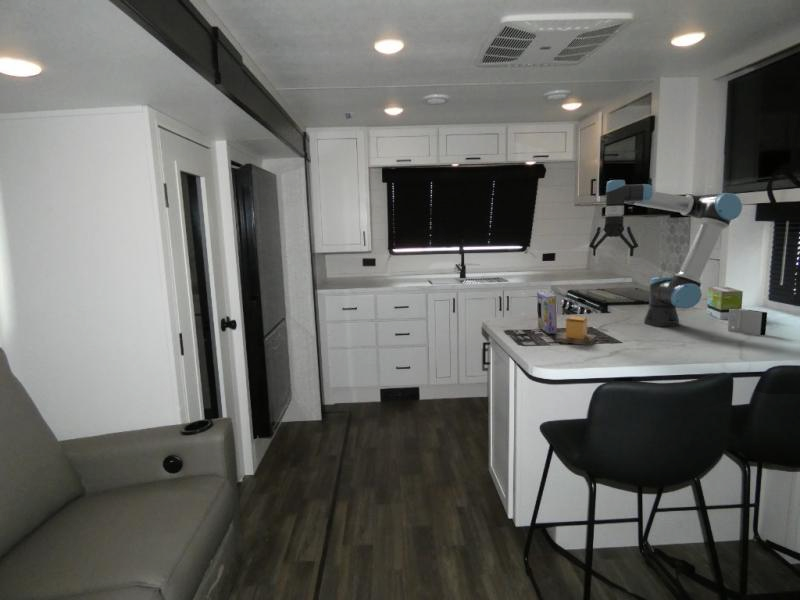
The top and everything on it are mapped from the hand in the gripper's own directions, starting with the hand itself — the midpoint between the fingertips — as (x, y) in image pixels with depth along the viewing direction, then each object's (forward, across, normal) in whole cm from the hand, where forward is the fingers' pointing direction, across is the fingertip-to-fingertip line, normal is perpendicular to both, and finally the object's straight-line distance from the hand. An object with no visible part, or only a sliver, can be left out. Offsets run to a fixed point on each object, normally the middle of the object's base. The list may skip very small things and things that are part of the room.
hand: (612, 263), depth 222 cm
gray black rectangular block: (+32, +52, +25) cm, 66 cm away
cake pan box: (+32, -27, -8) cm, 43 cm away
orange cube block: (+30, -9, -24) cm, 39 cm away
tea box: (+32, +43, +62) cm, 82 cm away
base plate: (+32, -9, -24) cm, 41 cm away
